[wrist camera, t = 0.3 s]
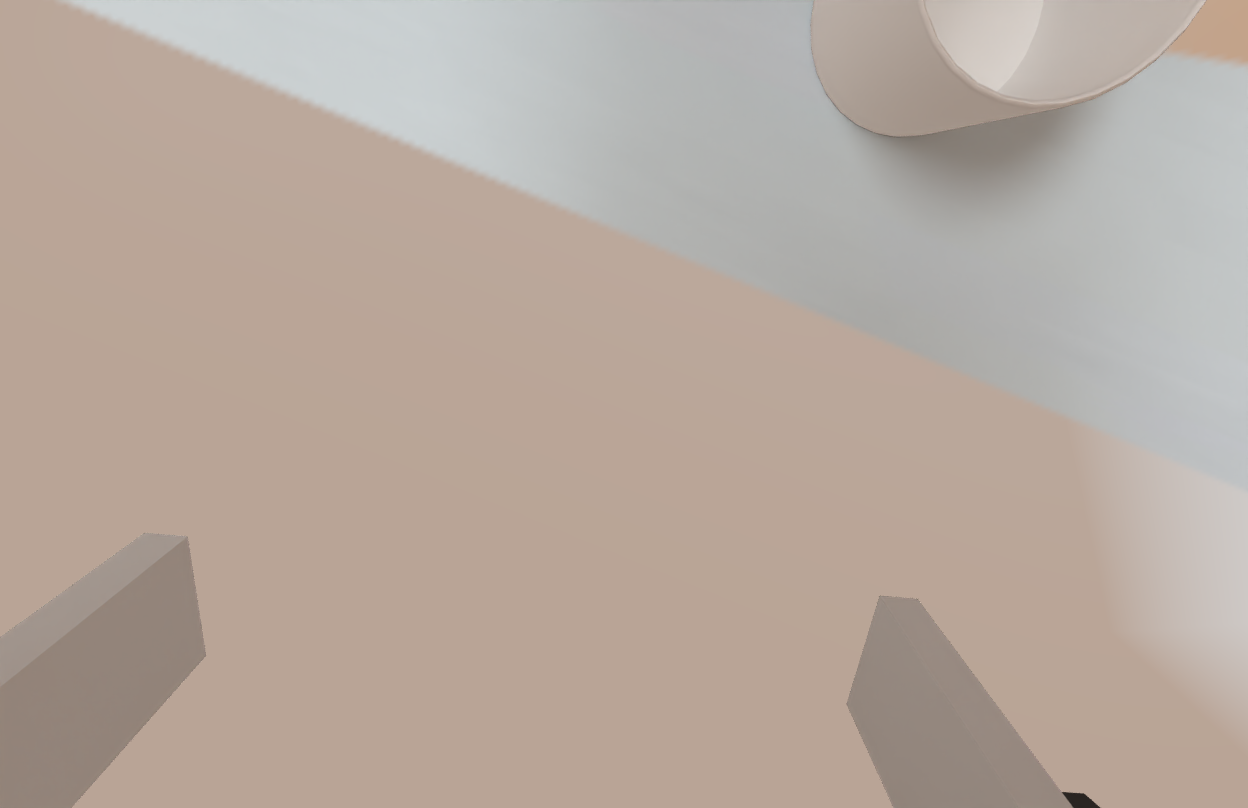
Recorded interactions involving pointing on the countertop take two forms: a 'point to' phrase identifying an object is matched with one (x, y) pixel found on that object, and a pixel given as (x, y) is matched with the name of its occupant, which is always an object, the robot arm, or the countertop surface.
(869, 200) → the countertop surface
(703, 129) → the countertop surface
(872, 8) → the cup
